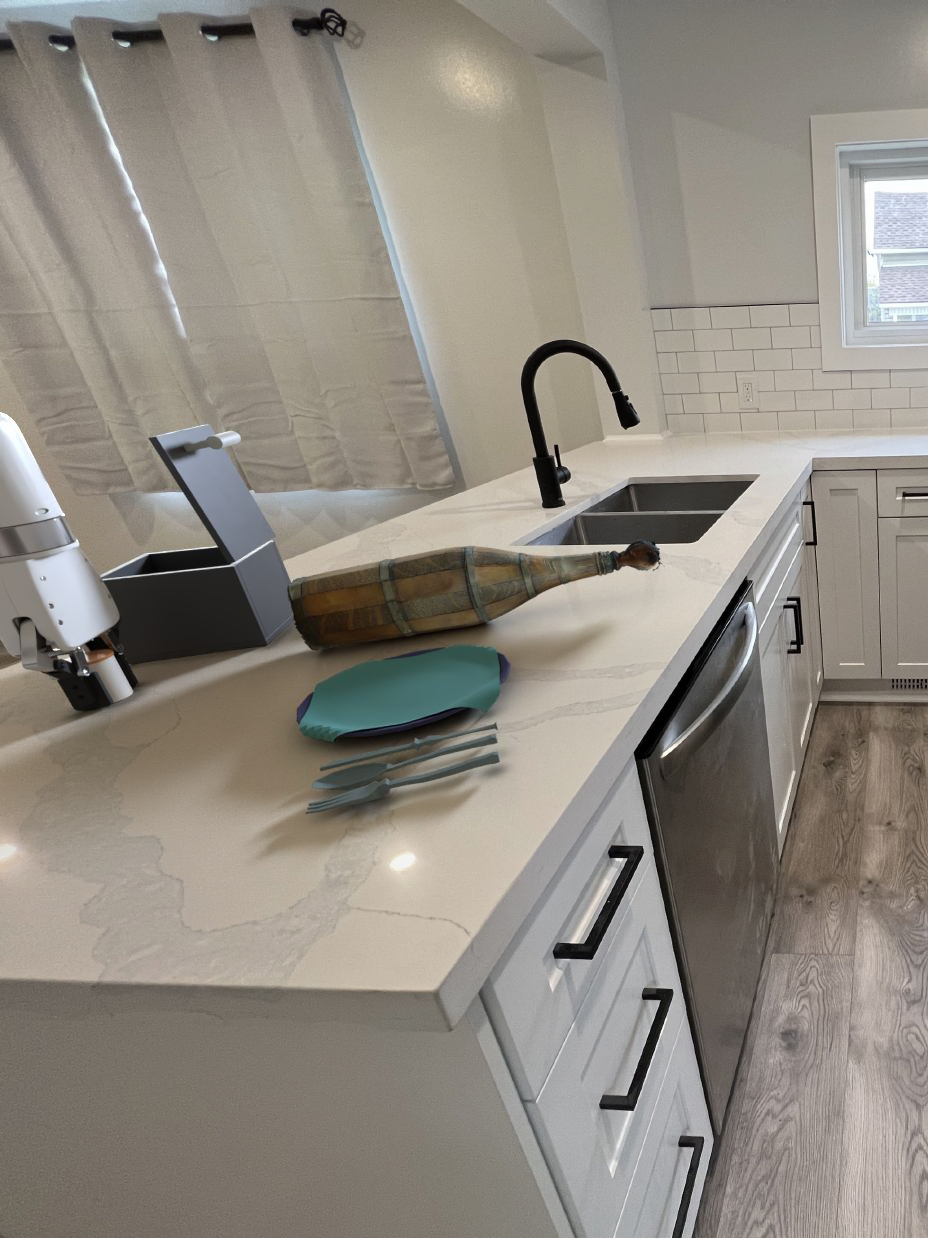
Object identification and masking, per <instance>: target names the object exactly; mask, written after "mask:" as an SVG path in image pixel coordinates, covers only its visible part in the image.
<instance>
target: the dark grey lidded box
mask: <svg viewBox="0 0 928 1238" xmlns="http://www.w3.org/2000/svg"><path fill="white" fill-rule="evenodd" d="M280 553H281V552H280V551H279V548H278V545H277V543H276V541H275V540H273V539H271V540H269V541H268V542H266V543H265V544H263V545H261V546H260V547H258V548H257V549H255V550H253V551H252V552H250V553H249V554H247V555H245V556H244V557H242V558H241V559H239V560H237V561H236V562H233V563H228V562H227V560H226V559H225V557H224V556H223V554H222V552H221V551H220V549H219V548H218V546H217V545H215V546H205V547H195V548H185V549H176V550H175V549H174V550H165V551H155V552H145V553H143V554H141V555H139V556H137V557H135V558H133V559H130V560H128V561H126V562H124V563H122V564H121V565H118V566H116V567H114V568H112V569H109V570H108V571H106V572H104V573H102V574H99V575H100V577H101V579H102V580H103V582H104V584H105V585H106V587H107V589H108V591H109V593H110V594H111V596H112V598H113V600H114V602H115V604H116V607H117V609H118V612H119V614H120V615H121V618H122V620H121V623H120V627H119V632H120V634H119V641H120V642H121V644H122V645H123V647H124V652H123V653H122V654H124V656H125V658H126V660H127V662H128V664H129V665H133V664H139V663H147V662H154V661H155V662H156V661H161V660H170V659H177V658H184V657H190V656H198V655H204V654H212V653H220V652H227V651H234V650H240V649H241V650H242V649H249V648H256V647H262V646H263V647H264V646H268V645H269V644H271V642H273V641H274V640H275V639H276V638H277V637H278V636H279V635H280V634H281V633H282V632H283V631H284V630H285V629H286V628H288V627H289V626H290V625H291V624H292V623H294V622H295V621H294V619H293V612H292V608H291V603H290V601H289V600H288V598H289V597H288V592H287V586H288V585H289V584H291V583H292V580H291V578H290V576H289V574H288V571H287V568H286V566H285V563H284V561H283V558H282V555H281V554H280Z"/></svg>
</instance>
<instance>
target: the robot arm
mask: <svg viewBox="0 0 928 1238" xmlns="http://www.w3.org/2000/svg"><path fill="white" fill-rule="evenodd" d="M80 545H81V544H80V542H79V540H78V538H77V536H76V534H75V532H74V531H73V528H72V527H71V524H70V522H68V519H67V517H66V515H65V513H64V511H63V510H62V508H61V506H60V504H59V502H58V500H57V498H56V496H55V495H54V493H53V491H52V489H51V487H50V485H49V483H48V481H47V480H46V478H45V475H44V474H43V472H42V470H41V468H40V466H39V464H38V462H37V460H36V458H35V456H34V454H33V453H32V451H31V448H30V446H29V445H28V443H27V441H26V439H25V437H24V435H23V433H22V432H21V429H20V428H19V426H18V425H17V423H16V422H15V421H14V420H13V419H12V418H11V417H10V416H9V415H7V414H6V413H2V412H0V641H1V643H2V644H3V646H4V648H5V650H6V651H7V653H8V654H9V655H10V656H12V657H14V658H19V659H20V658H21V665H22V668H23V669H25V670H28V671H33V672H41V673H42V674H45V675H47V676H48V677H49V679H50V680H52V681H57V683H58V685H59V686H60V688H61V690H62V692H63V693H64V695H65V696H66V698H67V700H68V702H69V703H70V705H71V707H72V709H73V710H75V711H76V712H81V711H87V710H94V709H101V708H106V707H107V708H109V707H110V706H112V705H113V704H114V703H113V699H112V698H111V696H110V694H109V692H108V690H107V689H106V687H105V685H104V683H103V681H102V680H101V678H100V676H99V674H98V672H90V668H89V665H88V663H87V660H86V658H85V655H84V652H89V651H94V650H102V649H110V650H112V651H113V652H114V657H115V658H116V660H117V662H118V664H119V666H120V668H121V670H122V671H123V673H124V675H125V677H126V679H127V681H128V683H129V684H130V686H131V688H132V689H133V688H135V687H136V686H138V685H139V680H138V678H137V676H136V675H135V673H134V671H133V669H132V668H131V666H130V665H131V664H128V662H127V660H126V658H125V656H124V654H123V652H124V647H123V645H122V644H121V642H120V641H119V634H120V632H119V627H120V623H121V620H122V618H121V615H120V614H119V612H118V609H117V607H116V604H115V602H114V600H113V598H112V596H111V594H110V593H109V591H108V589H107V587H106V585H105V584H104V582H103V580H102V579H101V577H100V575H101V574H99V572H98V571H97V569H96V568H95V566H94V565H93V563H92V562H91V560H90V559H89V557H88V555H87V554H86V553H85V552H84V550H83V549H82V548H81V547H80ZM52 645H56V648H54V649H53V647H52ZM67 655H68V656H69V657H70V659H71V662H72V663H71V662H69V661H66V660H64V659H65V658H59V656H67Z"/></svg>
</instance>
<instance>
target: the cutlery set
mask: <svg viewBox="0 0 928 1238" xmlns="http://www.w3.org/2000/svg"><path fill="white" fill-rule="evenodd" d="M511 668H512V666H511V662H510V661H509V660H508V658H507V656H506V655H505V654H503V653H501V652H499V651H498V648H495V647H492V646H485V645H477V644H474V645H473V644H471V643H470V644H469V643H468V644H465V643H460V644H454V645H450V646H444V647H436V648H429V649H423V650H422V649H421V650H415V651H410V652H407V653H403V654H398V655H394V656H390V657H386V658H382V659H377V660H376V659H375V660H368V661H364V662H361V663H359V664H356V665H354V666H352V667H350V668H347V669H345V670H343V671H340V672H338V673H336V674H334V675H332V676H330V677H328V678H326V679H324V680H321V681H320V682H318V683H316V685H314V689H313V691H312V692H311V693H309V694H308V695H307V696H306V697H305V698H304V700H302V702H301V703H300V704H299V706H298V707H297V708H296V723H297V724H298V725H299V726H298V730H299V731H300V732H301V734H302V735H303V736H304V737H307V738H309V739H316V740H324V741H326V742H331V743H333V744H334V743H336V741H337V739H338V738H357V737H372V736H377V735H384V734H391V733H396V732H402V731H407V730H410V729H414V728H417V727H420V726H423V725H427V724H431V723H435V722H437V721H440V720H442V719H445V718H447V717H449V716H451V715H454V714H457V713H459V712H461V711H463V710H465V709H467V708H471V709H475V710H477V711H480V712H483V713H487V712H488V711H489V710H490V709H491V708H492V706H493V705H494V704H495V703H496V701H497V699H498V697H499V696H500V693H501V692H500V691H501V685H502V684H503V683H504V682H506V680H507V679H508V677H509V674H510V670H511ZM491 730H496V731H499V727H498V723H497V721H495V722H494V723H493V724H489V725H485V726H482V727H478V728H475V729H474V728H473V729H471V730H470V729H469V730H464V731H457V732H453V733H449V734H445V735H436V734H435V735H434V734H433V735H427V736H426V737H425V738H423V739H418V738H417V737H414V740H413V742H411V743H406V744H400V745H395V746H389V747H386V748H380V749H377V750H376V749H375V750H373V751H367V752H363V753H359V754H355V755H352V756H347V757H342V758H339V759H335V760H333V761H330V762H327V763H326V764H323V765H321V766H320V767H319V771H320V772H324V771H328V770H333V769H336V768H341V767H344V766H349V765H351V766H349V767H346V768H343V769H339V770H336V771H333V772H330V773H327V774H326V775H324V776H322V777H320V778H318V779H316V780H313V781H312V784H311V787H310V788H311V789H316V790H327V791H340V790H347V789H348V791H345V792H342V793H340V794H337V795H335V796H332V797H328V798H323V799H321V800H316V801H312V802H308V806H307V807H306V811H305V814H306V815H310V814H317V813H323V812H326V811H331V810H334V809H338V808H341V807H346V806H352V805H359V804H362V803H366V802H370V801H374V800H378V799H380V798H383V797H386V796H387V795H389V794H390V792H391V789H395V788H400V787H406V786H411V785H417V784H423V783H428V782H432V781H436V780H441V779H443V778H447V777H450V776H453V775H459V774H461V773H464V772H466V771H470V770H473V769H477V768H481V767H485V766H490V765H497V764H498V763H500V762H501V758H500V755H499V752H498V751H497V750H496V751H491V752H489V753H486V754H483V755H479V756H475V757H472V758H469V759H466V760H463V761H460V762H457V763H455V764H452V765H448V766H446V767H443V768H439V769H436V770H433V771H428V772H425V773H422V774H416V775H410V776H405V777H400V778H397V779H392V780H390V779H389V778H388V777H385V778H384V779H382V780H380V781H378V780H376V779H378V778H379V777H381V776H382V775H385V774H386V773H389V772H392V771H396V770H398V769H399V770H400V769H402V768H405V767H408V766H412V765H414V764H415V765H416V764H418V763H422V762H426V761H429V760H432V759H435V758H438V757H442V756H446V755H450V754H454V753H455V754H456V753H459V752H463V751H467V750H472V749H475V748H481V747H486V746H491V745H492V746H493V745H496V744H498V743H499V742H498V737H497V733H491V734H489V735H485V736H482V737H478V738H475V739H471V740H468V741H464V742H460V743H458V744H453V745H450V746H447V747H442V748H439V749H437V750H434V751H432V752H429V753H426V754H423V755H420V756H416V757H413V758H410V759H406V760H404V761H402V762H399V763H397V764H392V763H390V762H378V761H374V762H368V763H362V764H361V762H367V761H369V760H374V759H378V758H382V757H386V756H390V755H394V754H398V753H399V754H400V753H403V752H407V751H411V750H415V752H416V753H419V752H420V749H422V748H424V747H429V748H430V747H431V748H432V747H434V746H435V745H437V744H439V743H441V742H443V741H445V740H450V739H454V738H458V737H463V736H465V735H469V734H475V733H480V732H486V731H491ZM357 763H360V764H357ZM352 764H353V765H352ZM354 764H355V765H354ZM349 789H350V790H349Z"/></svg>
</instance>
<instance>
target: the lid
mask: <svg viewBox="0 0 928 1238" xmlns="http://www.w3.org/2000/svg"><path fill="white" fill-rule="evenodd" d="M148 440H149V442H150V444H151V445H152V446H153V448H154V450H155V451H156V453H157V454H158V456H159V458H160V459H161V461H162V462H163V464H164V466H165V467H166V468H167V470H168V471H169V473H170V475H171V477H172V478H173V480H174V481H175V482H176V484H177V486H178V487H179V488H180V490H181V492H182V493H183V495H184V497H185V498H186V500H187V501H188V503H189V504H190V506H191V507H192V509H193V510H194V512H195V514H196V515H197V517H198V518H199V520H200V521H201V523H202V525H203V526H204V527H205V529H206V531H207V532H208V534H209V535H210V537H211V539H212V541H213V542H214V543H215V546H218V548H219V549H220V551H221V552H222V554H223V556H224V557H225V559H226V560H227V562H228V563H233V562H236V561H237V560H239V559H241V558H242V557H244V556H245V555H247V554H249V553H250V552H252V551H253V550H255V549H257V548H258V547H260V546H261V545H263V544H265V543H266V542H268V541H272V540H273V539H274V538H276V537H277V534H276V533H275V531H274V529H273V528H272V527H271V525H270V523H269V522H268V519H267V518H266V517H265V515H264V513H263V511H262V510H261V508H260V506H259V505H258V503H257V502H256V500H255V498H254V496H253V495H252V493H251V491H250V490H249V488H248V486H247V484H246V483H245V481H244V479H243V478H242V476H241V475H240V473H239V472H238V470H237V468H236V466H235V465H234V463H233V461H232V459H231V458H230V455H228V453H227V451H226V449H225V448H228V447H231V446H235V445H238V444H240V443H241V441H242V437H241V435H240V434H239V433H238V432H236V431H233V430H228V431H224V432H220V433H217V434H216V432H215V431H214V429H213V428H212V426H211V424H210V423H207V424H203V425H202V424H201V425H197V426H194V427H189V428H185V429H180V430H175V431H171V432H167V433H163V434H158V435H154V436H149V437H148Z"/></svg>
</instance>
